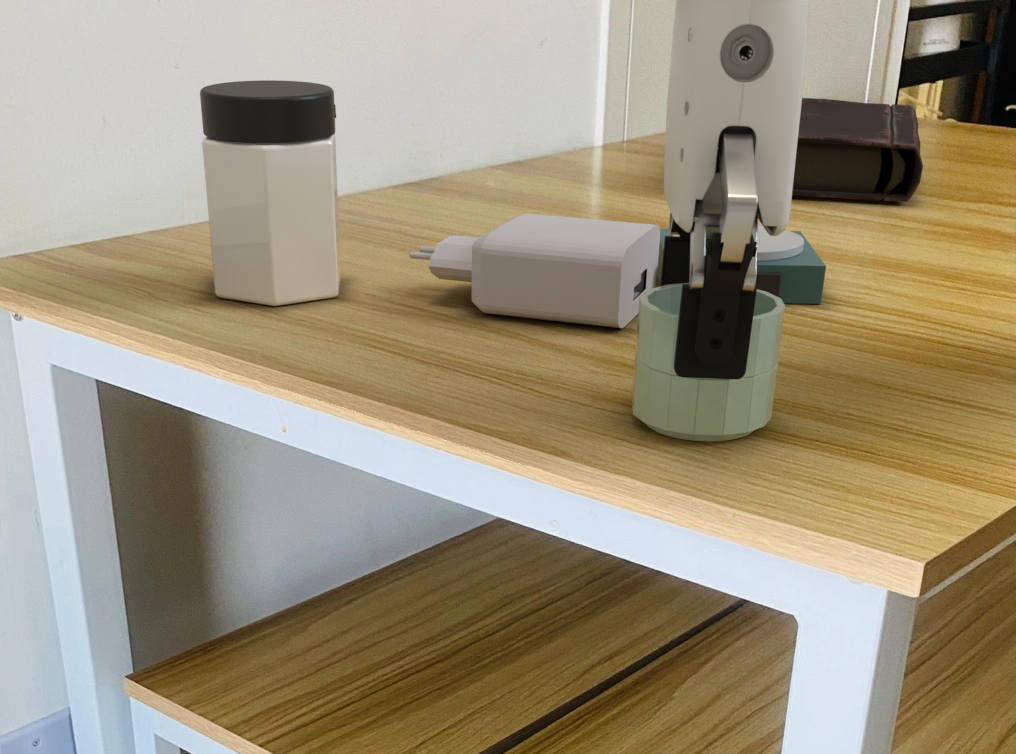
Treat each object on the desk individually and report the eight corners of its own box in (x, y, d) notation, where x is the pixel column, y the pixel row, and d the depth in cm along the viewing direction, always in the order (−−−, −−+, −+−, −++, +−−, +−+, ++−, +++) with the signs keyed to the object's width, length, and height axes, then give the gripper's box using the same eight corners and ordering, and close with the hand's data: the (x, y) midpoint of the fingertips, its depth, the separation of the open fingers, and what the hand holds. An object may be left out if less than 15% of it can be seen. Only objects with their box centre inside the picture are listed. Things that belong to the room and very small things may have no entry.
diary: (912, 157, 135) (921, 101, 132) (916, 206, 114) (927, 141, 112) (722, 147, 139) (727, 93, 136) (693, 193, 118) (698, 130, 116)
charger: (441, 274, 93) (656, 296, 89) (387, 308, 86) (618, 334, 81) (441, 201, 91) (662, 220, 86) (385, 229, 83) (623, 251, 79)
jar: (371, 283, 91) (365, 86, 85) (303, 312, 85) (291, 101, 78) (259, 267, 94) (245, 76, 88) (186, 294, 88) (166, 90, 82)
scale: (796, 266, 96) (801, 222, 95) (821, 305, 87) (828, 257, 86) (653, 263, 96) (656, 219, 95) (664, 302, 88) (668, 254, 86)
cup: (758, 401, 71) (773, 284, 68) (778, 447, 65) (794, 321, 62) (627, 398, 71) (636, 281, 68) (635, 444, 66) (645, 318, 62)
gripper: (878, -51, 50) (805, 406, 59) (800, -64, 65) (752, 303, 74) (671, -58, 50) (630, 399, 59) (641, -70, 65) (612, 297, 74)
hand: (698, 345), depth 66 cm, fingers open, 9 cm apart
